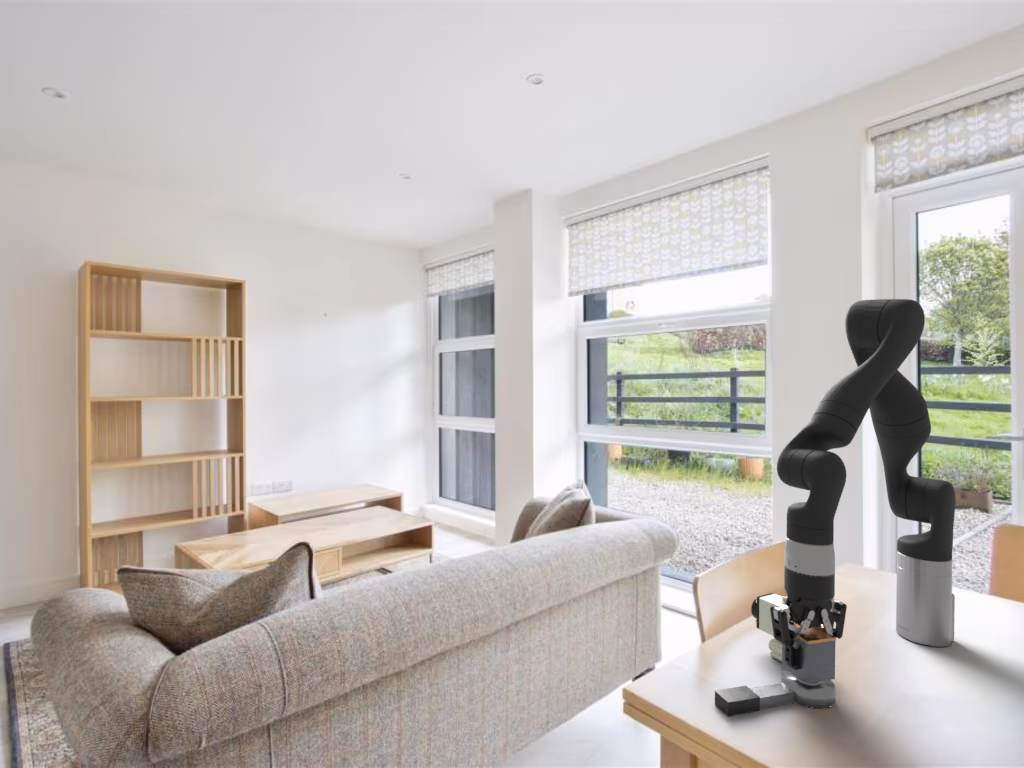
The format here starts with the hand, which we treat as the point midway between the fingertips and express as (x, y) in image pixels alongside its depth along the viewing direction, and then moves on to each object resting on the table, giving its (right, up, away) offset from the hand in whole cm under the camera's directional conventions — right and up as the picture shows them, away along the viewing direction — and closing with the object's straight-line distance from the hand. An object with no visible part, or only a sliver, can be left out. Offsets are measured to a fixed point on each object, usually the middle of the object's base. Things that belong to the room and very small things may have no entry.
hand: (808, 664), depth 92 cm
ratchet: (-6, -5, -2) cm, 8 cm away
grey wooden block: (0, -1, 0) cm, 1 cm away
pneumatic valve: (+2, -5, +12) cm, 13 cm away
